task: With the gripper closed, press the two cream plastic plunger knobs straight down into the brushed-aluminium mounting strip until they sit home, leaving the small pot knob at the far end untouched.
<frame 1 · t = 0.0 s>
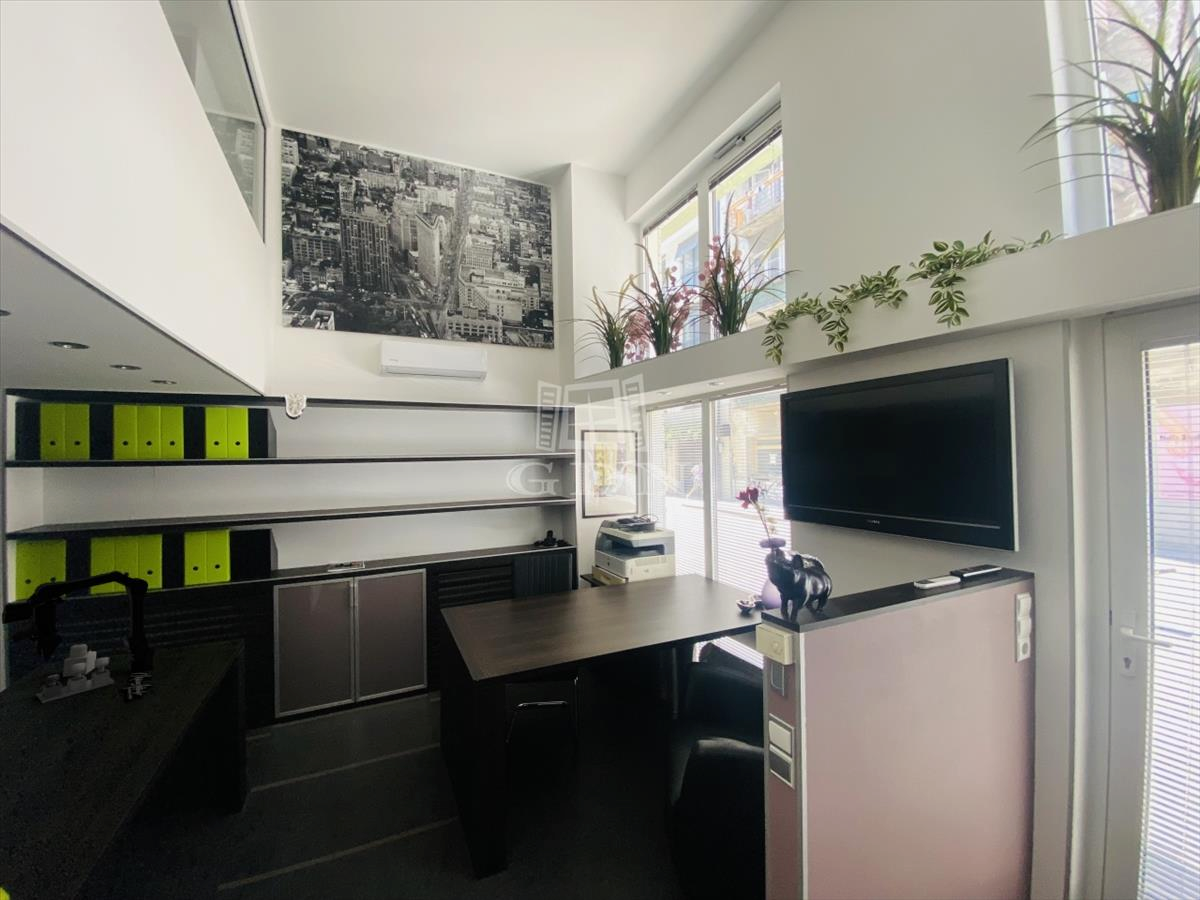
hand: (43, 657, 176), 15 cm above the table, fingers open, 9 cm apart
pot knob: (52, 681, 177), point 6 cm above the table, slide at 0.0 cm
knob a: (101, 666, 188), point 7 cm above the table, slide at 0.0 cm
knob b: (77, 672, 182), point 7 cm above the table, slide at 0.0 cm
nameplate: (136, 688, 185), on the table
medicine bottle: (79, 672, 196), on the table
mount strip: (76, 689, 182), on the table
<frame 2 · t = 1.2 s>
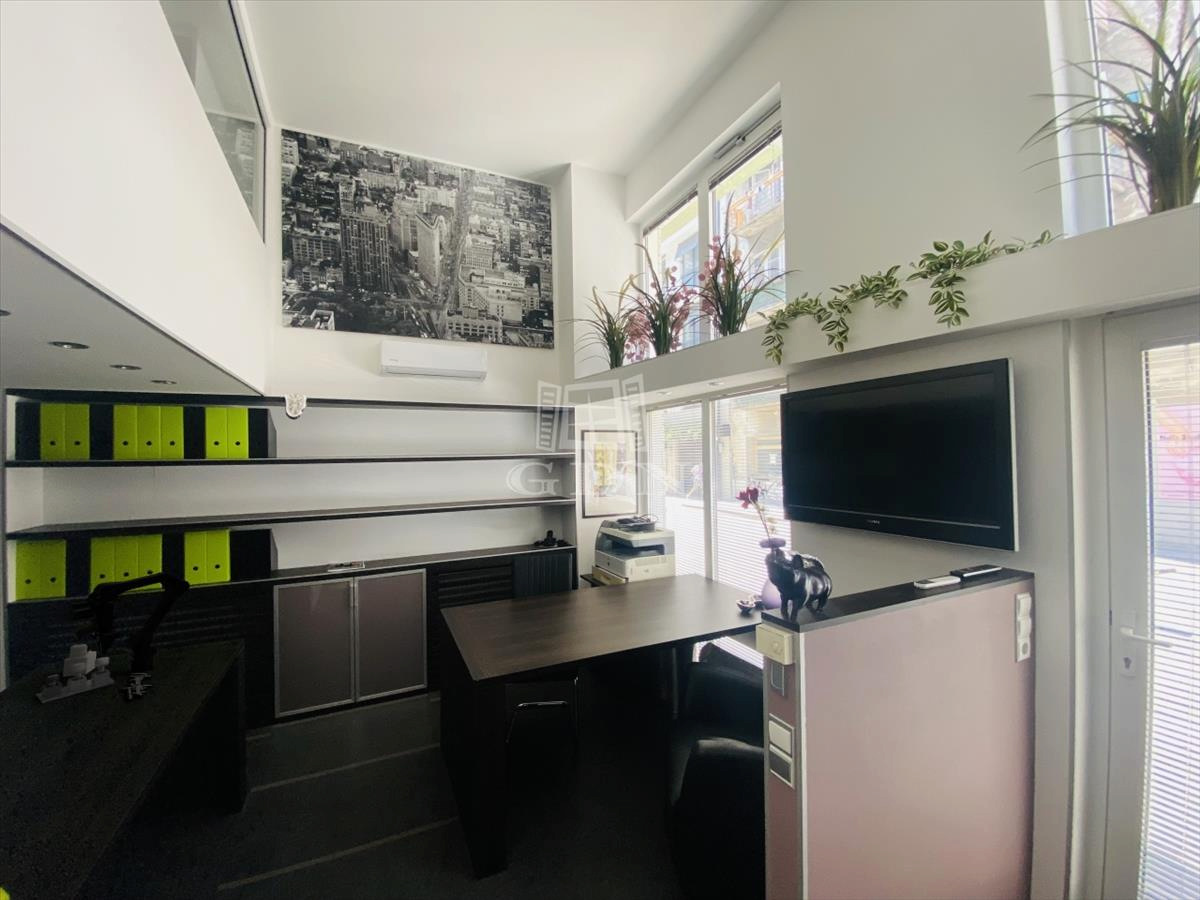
hand: (102, 653, 188), 12 cm above the table, fingers open, 4 cm apart
nothing on the table moved.
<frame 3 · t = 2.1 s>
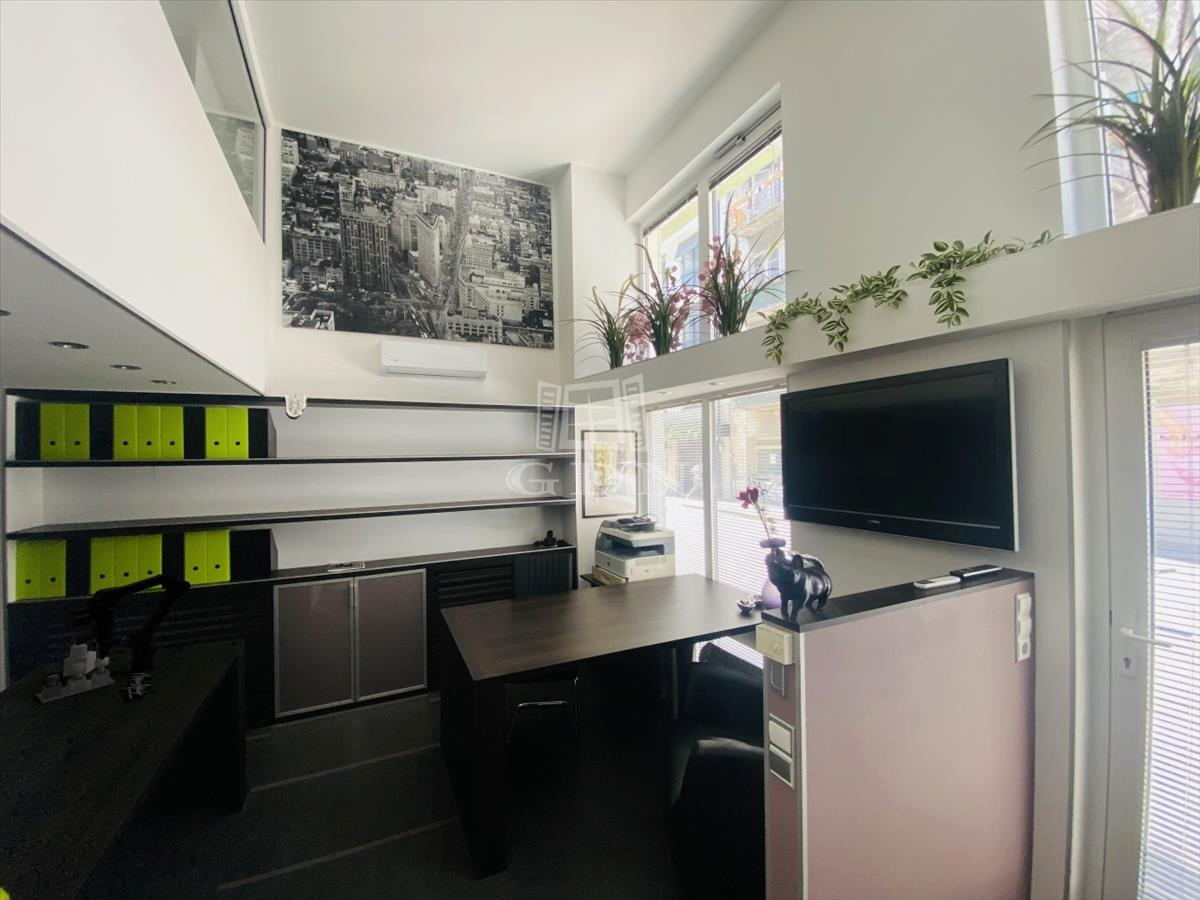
hand: (101, 659, 188), 9 cm above the table, fingers closed, pressing on knob a
knob a: (101, 666, 188), point 7 cm above the table, slide at 0.0 cm, touching gripper
everything else where it was.
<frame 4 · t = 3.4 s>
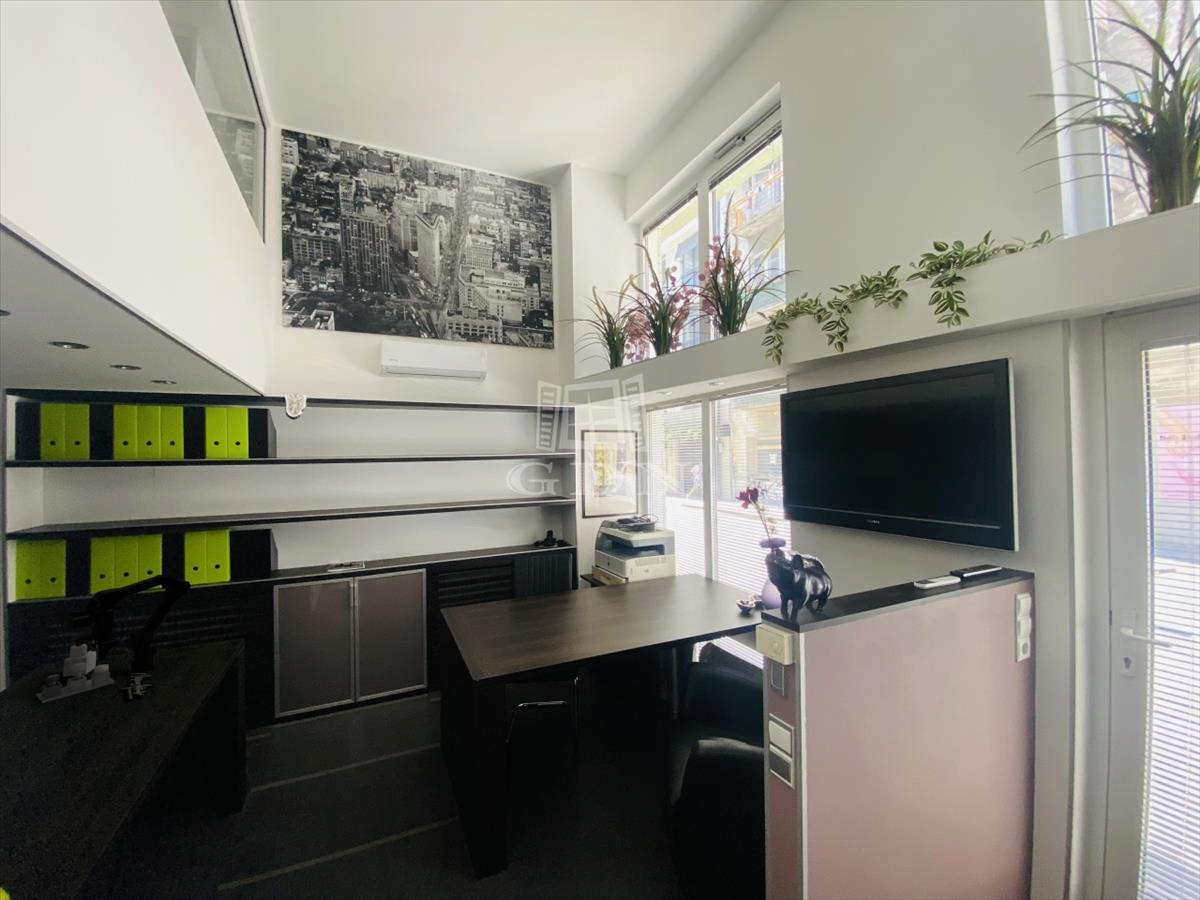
hand: (101, 660, 188), 9 cm above the table, fingers closed
knob a: (100, 673, 188), point 4 cm above the table, slide at 2.9 cm
everything else where it was.
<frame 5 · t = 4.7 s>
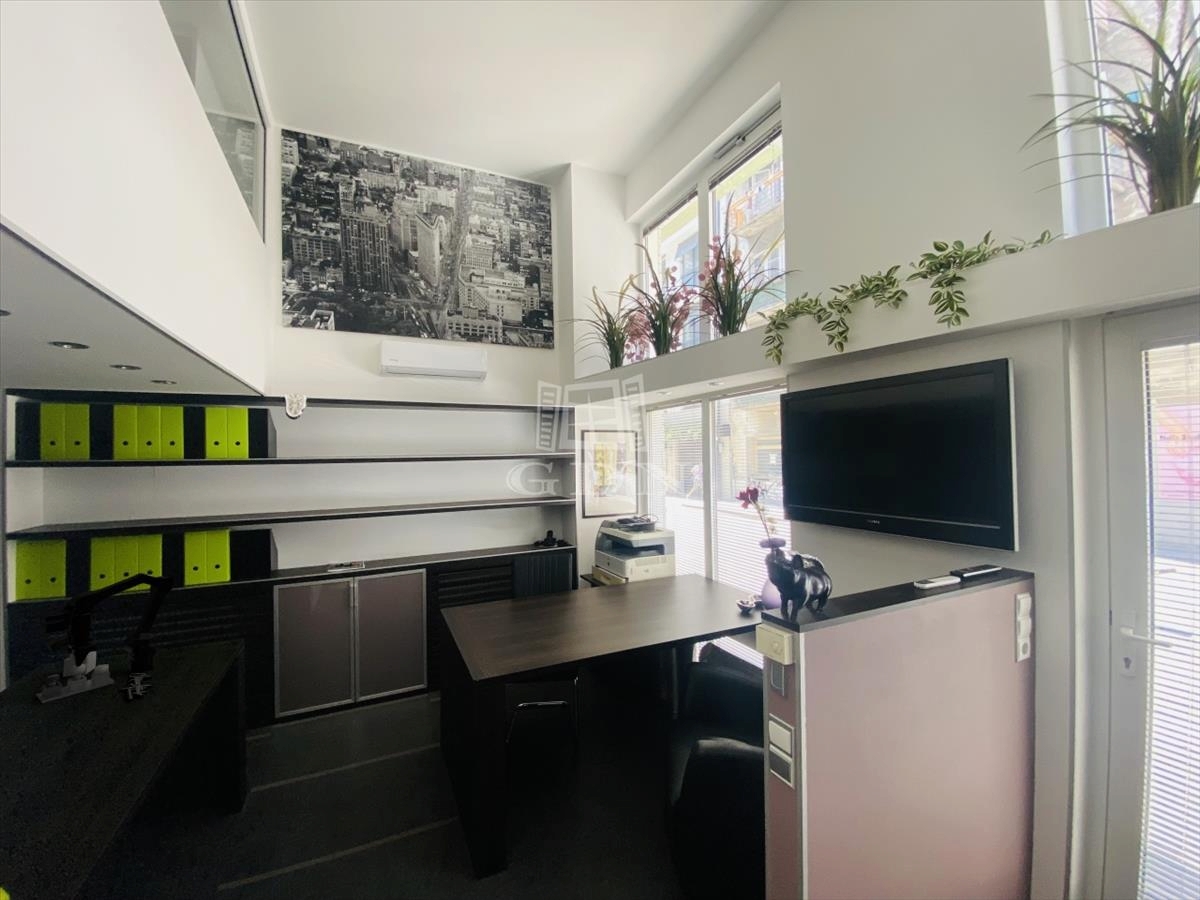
hand: (78, 666, 183), 9 cm above the table, fingers closed, pressing on knob b
knob b: (77, 673, 182), point 6 cm above the table, slide at 0.5 cm, touching gripper
everything else where it was.
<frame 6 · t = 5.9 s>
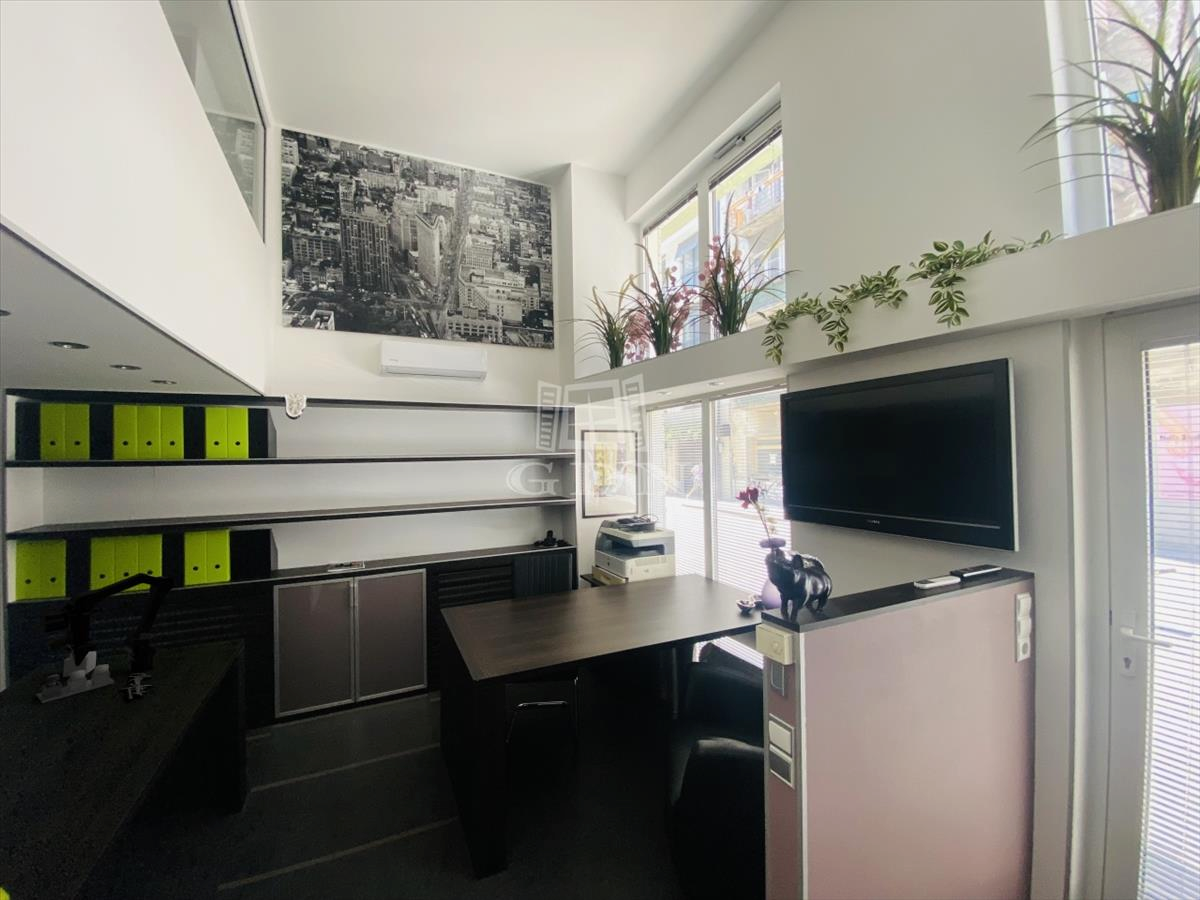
hand: (77, 665, 182), 9 cm above the table, fingers closed
knob b: (77, 679, 182), point 4 cm above the table, slide at 2.9 cm
everything else where it was.
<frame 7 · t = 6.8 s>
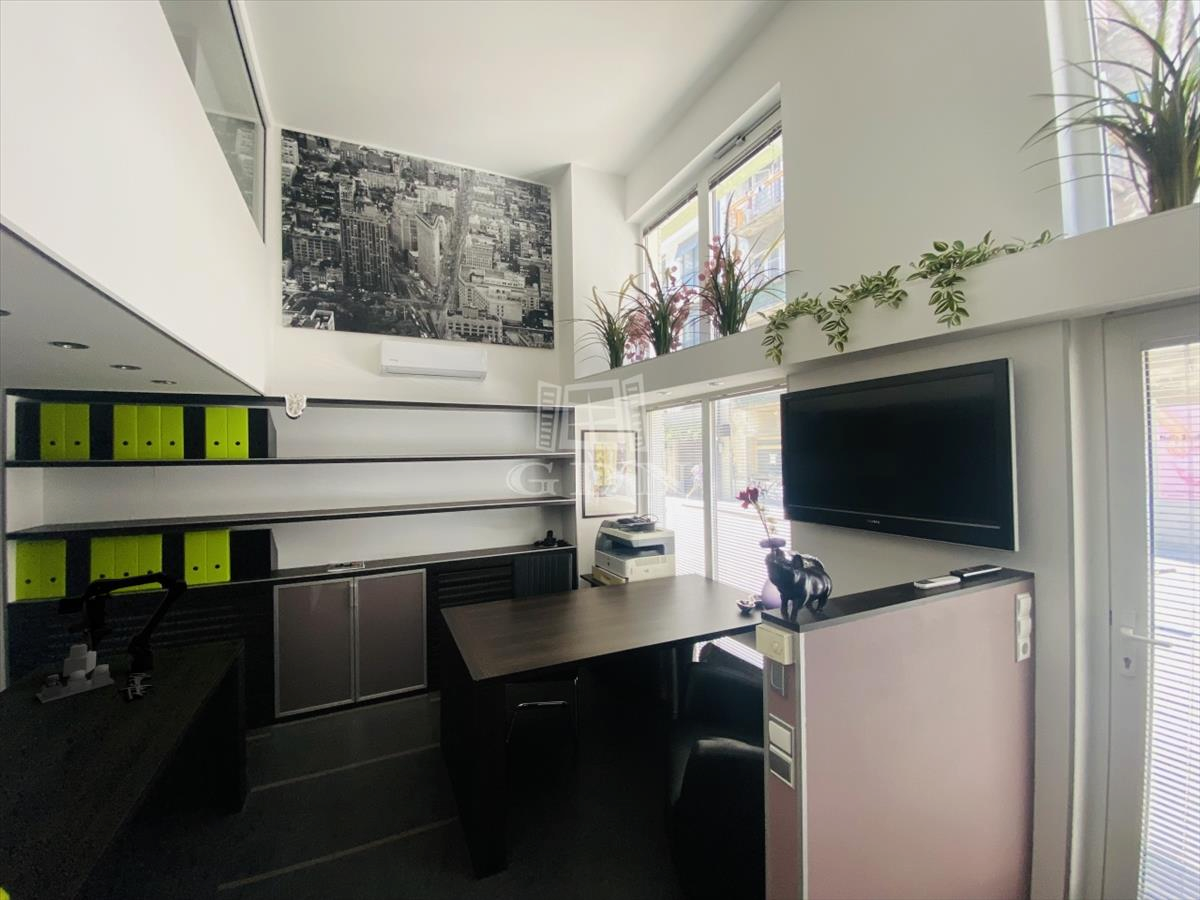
hand: (93, 648, 191), 12 cm above the table, fingers closed
nothing on the table moved.
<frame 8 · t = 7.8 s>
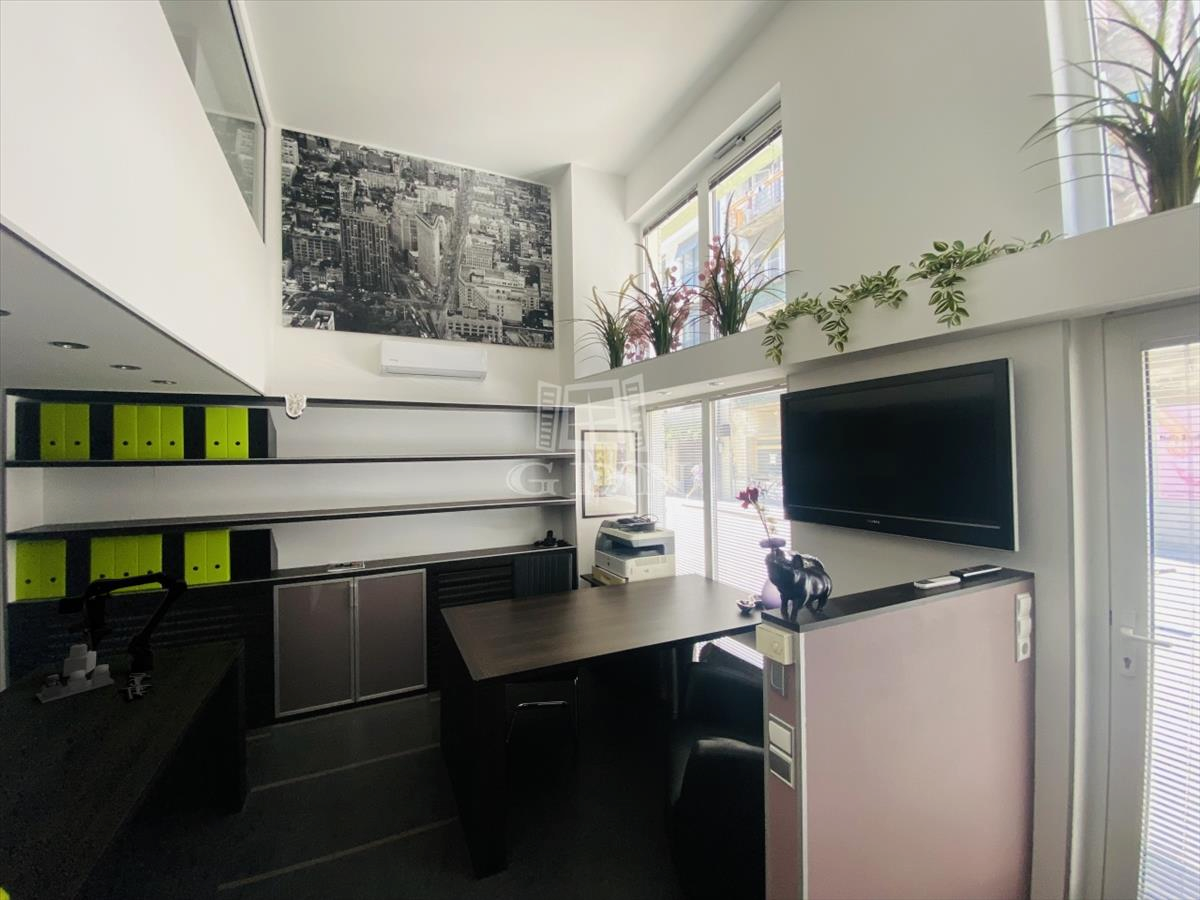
hand: (93, 648, 191), 13 cm above the table, fingers closed
nothing on the table moved.
at the end: knob a slide at 2.9 cm; knob b slide at 2.9 cm; pot knob slide at 0.0 cm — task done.
